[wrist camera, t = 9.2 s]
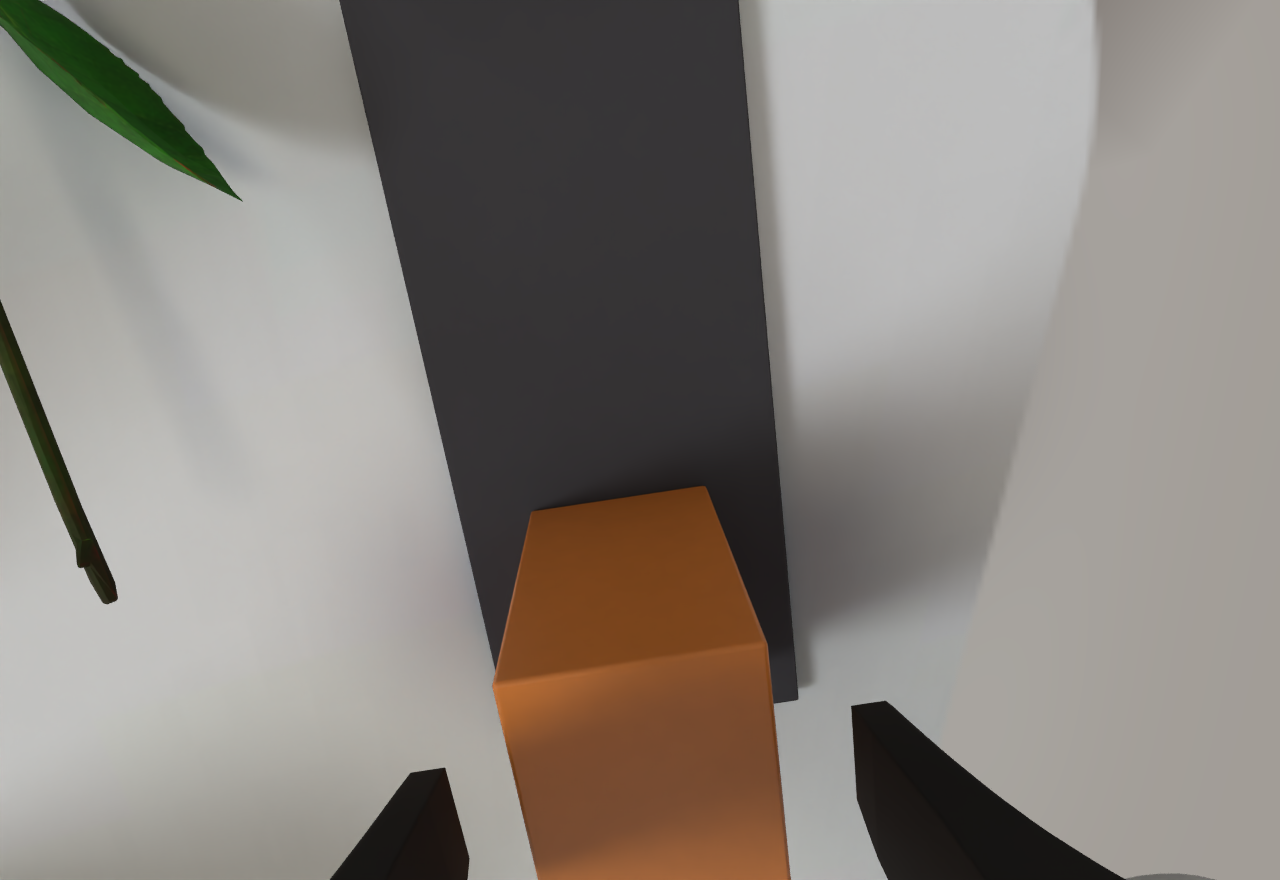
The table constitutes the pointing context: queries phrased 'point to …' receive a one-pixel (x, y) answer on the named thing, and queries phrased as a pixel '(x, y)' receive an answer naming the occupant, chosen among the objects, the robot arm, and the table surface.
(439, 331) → the dark grey flat board
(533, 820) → the orange rectangular block
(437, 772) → the robot arm
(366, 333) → the table surface
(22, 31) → the flower
